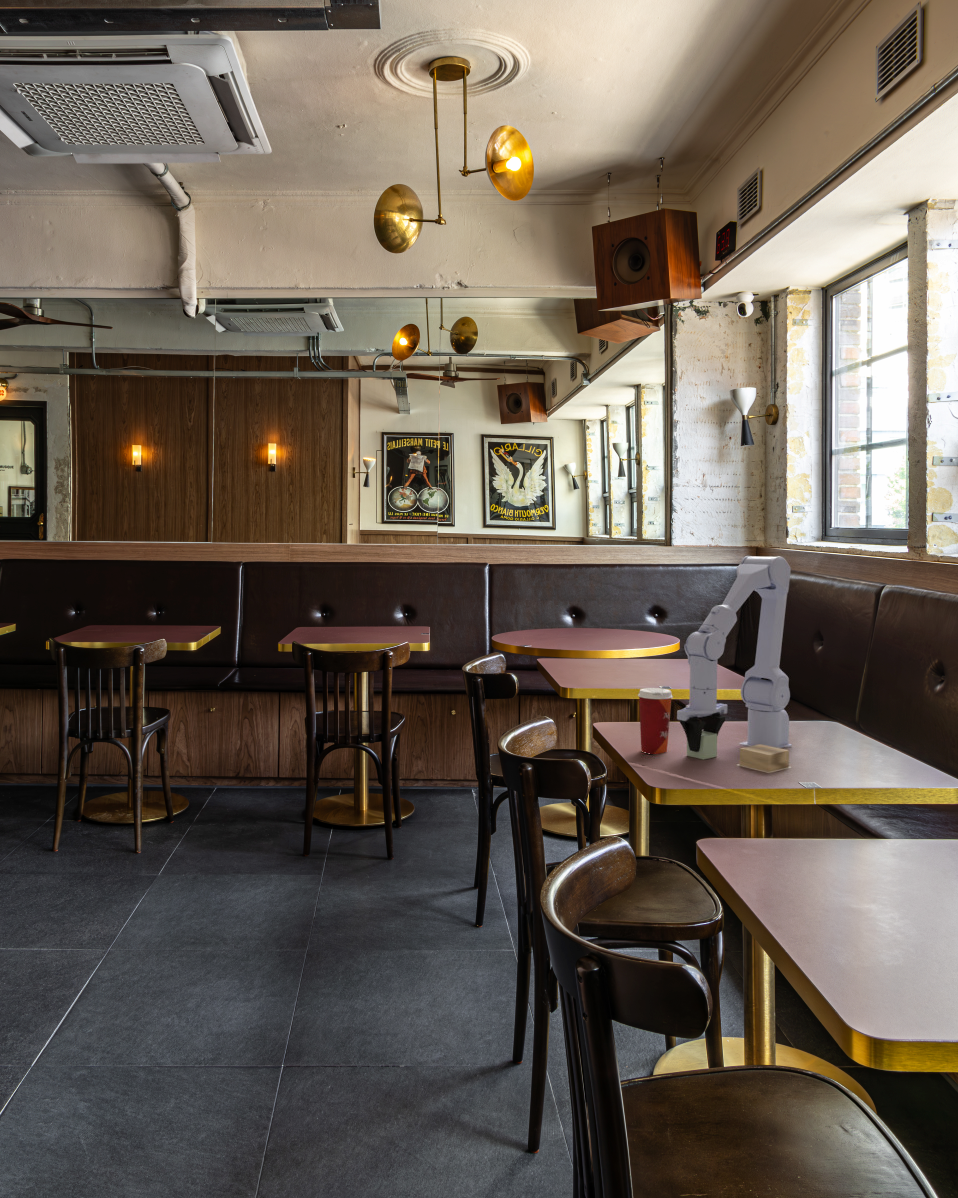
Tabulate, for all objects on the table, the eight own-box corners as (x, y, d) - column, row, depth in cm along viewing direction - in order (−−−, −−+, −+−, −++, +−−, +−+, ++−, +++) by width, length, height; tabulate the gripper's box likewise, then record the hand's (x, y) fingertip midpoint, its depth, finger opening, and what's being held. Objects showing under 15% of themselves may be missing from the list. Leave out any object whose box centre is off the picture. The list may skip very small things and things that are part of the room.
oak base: (759, 760, 186) (760, 744, 186) (788, 767, 181) (789, 750, 181) (739, 765, 182) (739, 748, 182) (768, 772, 177) (768, 755, 176)
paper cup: (674, 756, 191) (676, 693, 190) (639, 756, 191) (640, 692, 190) (667, 748, 199) (669, 687, 198) (634, 747, 199) (635, 687, 198)
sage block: (700, 752, 193) (700, 730, 192) (716, 756, 189) (717, 733, 189) (686, 755, 190) (687, 732, 190) (703, 759, 186) (703, 736, 186)
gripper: (709, 682, 196) (708, 741, 197) (666, 688, 187) (665, 750, 188) (735, 686, 191) (734, 747, 191) (692, 692, 182) (691, 756, 183)
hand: (701, 749), depth 190 cm, fingers closed on sage block, 4 cm apart
